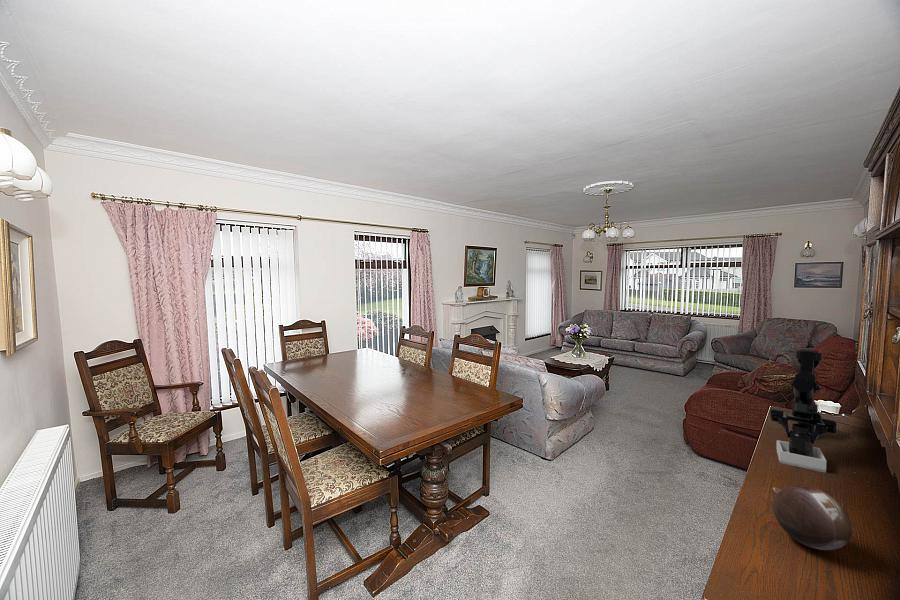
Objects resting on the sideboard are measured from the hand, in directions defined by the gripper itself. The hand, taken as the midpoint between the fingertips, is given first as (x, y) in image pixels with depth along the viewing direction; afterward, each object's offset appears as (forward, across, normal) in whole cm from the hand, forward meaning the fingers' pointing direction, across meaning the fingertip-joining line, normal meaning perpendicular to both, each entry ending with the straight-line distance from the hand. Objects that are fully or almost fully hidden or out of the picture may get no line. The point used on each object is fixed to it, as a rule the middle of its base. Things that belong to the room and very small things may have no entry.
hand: (800, 440), depth 140 cm
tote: (+6, 0, +7) cm, 9 cm away
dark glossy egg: (+47, +5, -35) cm, 59 cm away
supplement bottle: (+4, 0, +6) cm, 7 cm away
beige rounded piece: (+34, 0, -22) cm, 40 cm away
